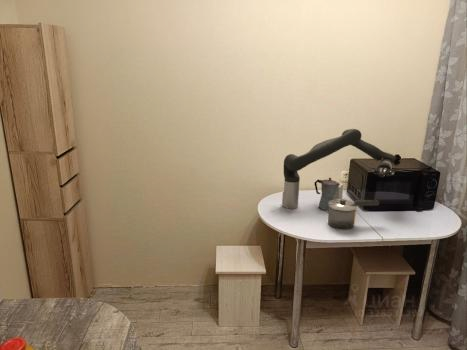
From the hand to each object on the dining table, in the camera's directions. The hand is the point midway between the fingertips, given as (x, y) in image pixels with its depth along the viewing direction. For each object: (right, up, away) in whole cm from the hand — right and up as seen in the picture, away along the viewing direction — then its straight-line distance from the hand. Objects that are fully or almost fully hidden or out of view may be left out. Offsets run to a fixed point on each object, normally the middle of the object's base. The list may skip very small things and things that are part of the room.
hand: (381, 175), depth 215 cm
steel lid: (-18, -17, -6) cm, 25 cm away
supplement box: (-19, -18, +29) cm, 39 cm away
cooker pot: (-24, -28, -3) cm, 37 cm away
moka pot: (-27, -21, +20) cm, 40 cm away
